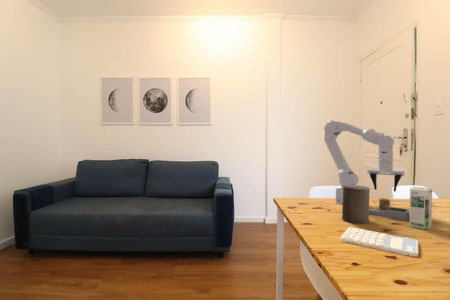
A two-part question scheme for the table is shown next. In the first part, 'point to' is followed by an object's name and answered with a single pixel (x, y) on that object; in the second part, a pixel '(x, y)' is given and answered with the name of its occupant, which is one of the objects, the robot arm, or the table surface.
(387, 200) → the walnut block
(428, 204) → the syrup box
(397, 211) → the rail
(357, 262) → the table surface
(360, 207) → the pillar candle
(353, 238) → the calculator
